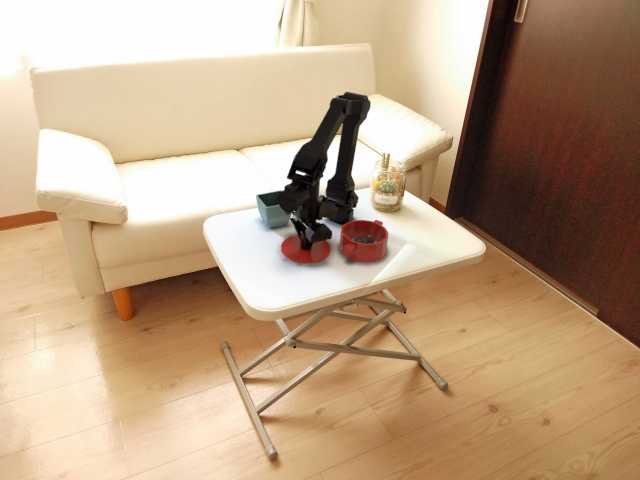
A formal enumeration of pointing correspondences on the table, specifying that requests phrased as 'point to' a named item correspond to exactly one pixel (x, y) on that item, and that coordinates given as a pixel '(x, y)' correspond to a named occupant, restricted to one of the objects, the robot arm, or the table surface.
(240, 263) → the table surface
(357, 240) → the grey lumpy block
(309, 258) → the lid
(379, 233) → the pot
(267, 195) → the flower pot
